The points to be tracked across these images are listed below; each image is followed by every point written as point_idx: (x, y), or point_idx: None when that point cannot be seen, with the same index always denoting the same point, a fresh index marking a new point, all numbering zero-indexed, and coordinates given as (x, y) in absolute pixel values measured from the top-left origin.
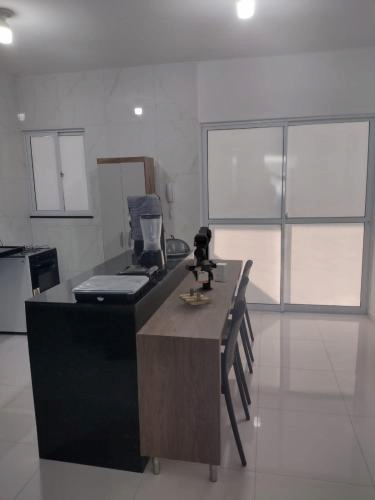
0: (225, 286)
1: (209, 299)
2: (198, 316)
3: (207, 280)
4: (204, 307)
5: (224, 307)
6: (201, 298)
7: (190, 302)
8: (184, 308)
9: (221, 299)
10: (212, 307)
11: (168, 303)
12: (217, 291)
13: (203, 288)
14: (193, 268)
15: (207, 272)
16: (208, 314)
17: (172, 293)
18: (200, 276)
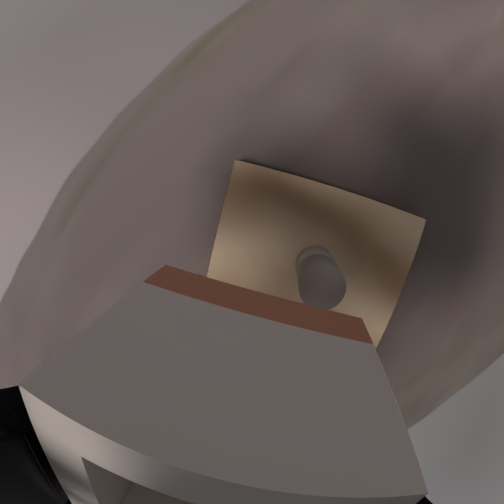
0: (6, 359)
1: (229, 202)
2: (491, 37)
3: (162, 284)
4: (378, 107)
5: (250, 10)
6: (265, 279)
7: (414, 256)
8: (487, 209)
9: (123, 178)
10: (326, 62)
11: (466, 364)
12: (57, 340)
13: None
14: None
15: (29, 429)
16: (432, 6)
17: None
18: (362, 414)
